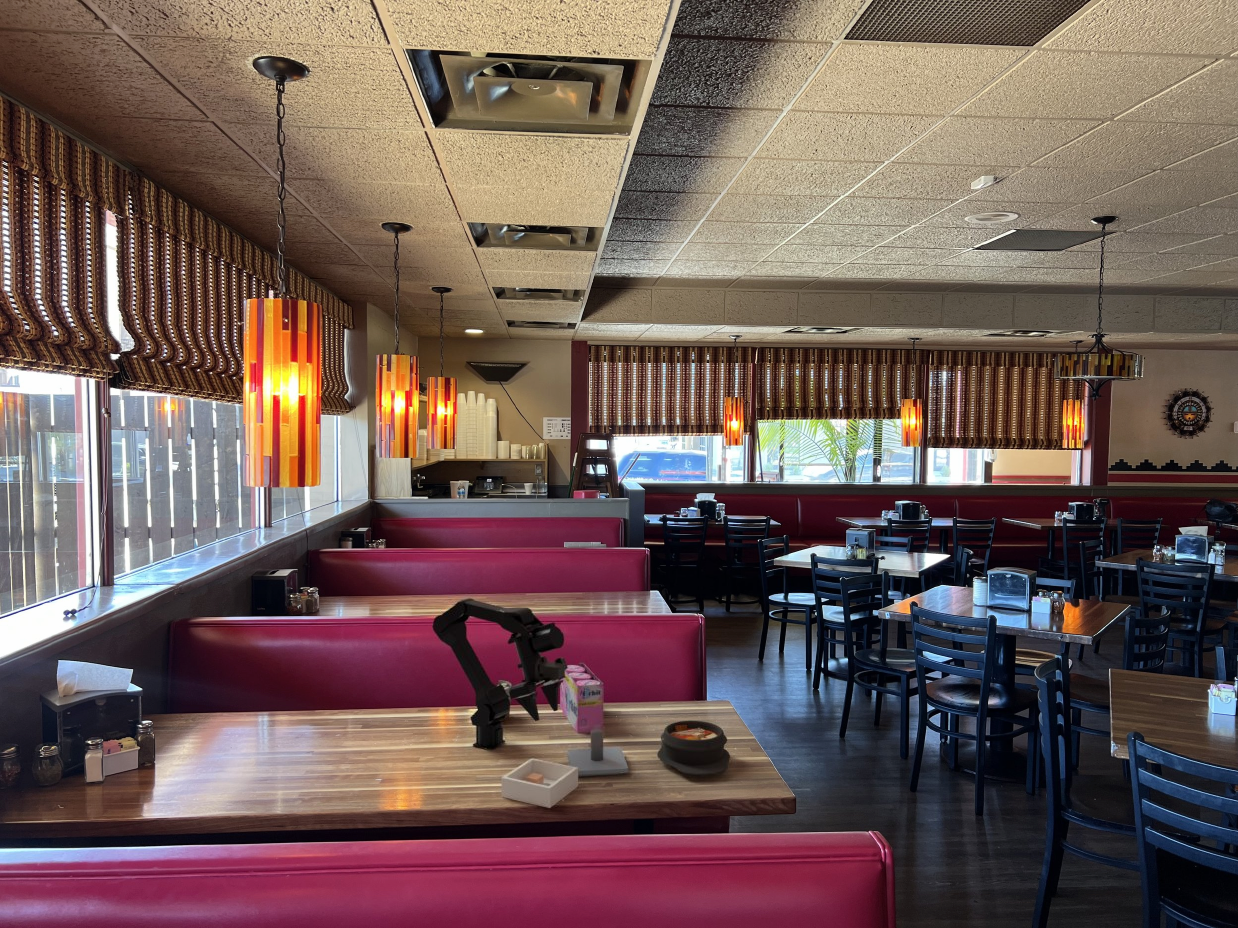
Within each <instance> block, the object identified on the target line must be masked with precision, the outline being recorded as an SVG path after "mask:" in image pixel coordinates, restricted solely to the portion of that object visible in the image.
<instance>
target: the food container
mask: <svg viewBox="0 0 1238 928" xmlns="http://www.w3.org/2000/svg"><path fill="white" fill-rule="evenodd" d="M495 685H496V686H499V685H502V686H503V687H504V689H505V691H506V693H507V694H508V695H509V689H510V687H512V686H513V685H512V683H511V682H509V681H506V680H500V679H499V680H498V683H497V684H495ZM509 696H510V695H509ZM508 699H509V701H510V702H511V700H512V699H510V697H509V698H508ZM510 712H511V708H510V709H509V712H508V713H507V715H506V718H505V719H503V720H501V721H500V722H502V724H505V723H507V722H509V721H510V714H511V713H510Z"/></svg>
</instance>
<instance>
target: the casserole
mask: <svg viewBox="0 0 1238 928" xmlns="http://www.w3.org/2000/svg"><path fill="white" fill-rule="evenodd" d="M660 741H661V742H662V743H661V747H660V749H659V750H658V751H657V753H656V754H657V758H658V760H660V761H661V762H662V763H664V764H666V765H668V766H670V767H673V768H674V769H677V770H678V771H679V772H681V773H683V774H686V775H693V776H710V775H715V774H720V773H723V772H726V771H727V770H728V769H729V761H730V760H731V754H730V752H729V751H728V750H727V749H725V745H726V744H727V743H728V738H727V736H726V734H725V733H724V730H723V728H722V727H720V726H719V725H717V724H714V723H712V722H708V721H707V722H706V721H704V720H703V721H701V720H682V721H676V722H675V721H674V722H673V723H669V724H668V725H666V726H665V728H664V730H663V733H662V734H661V735H660Z"/></svg>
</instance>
